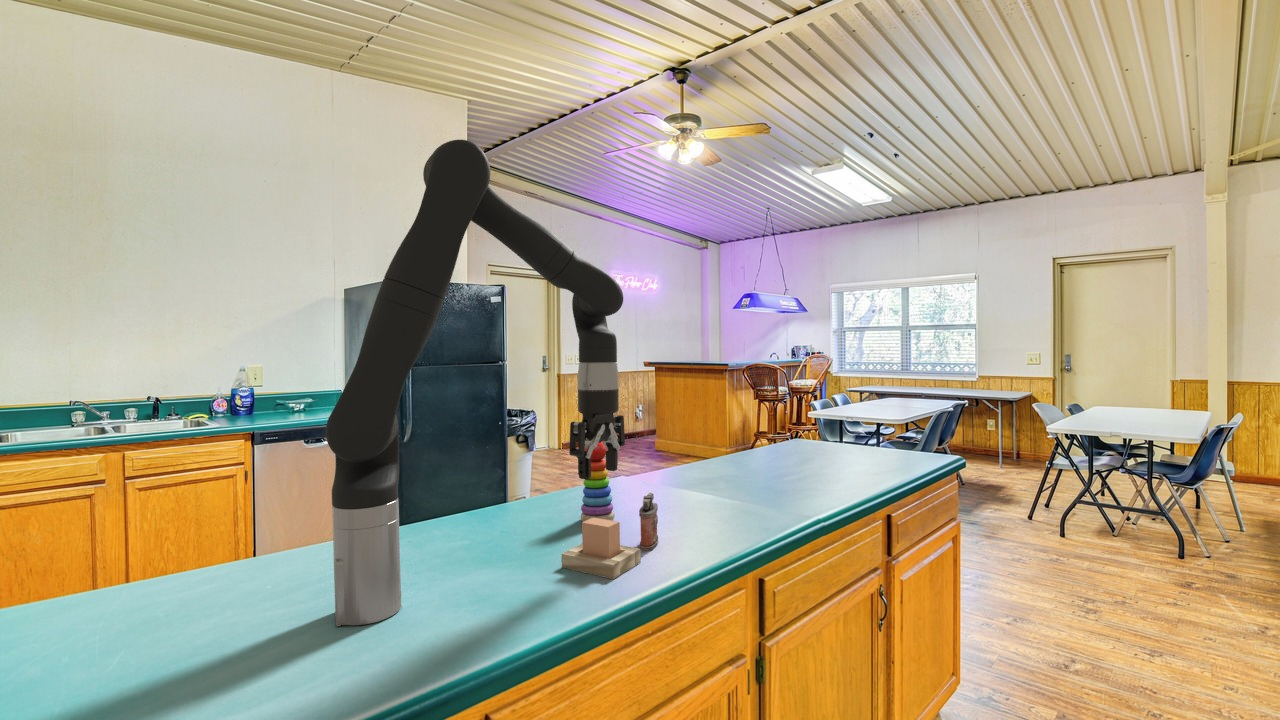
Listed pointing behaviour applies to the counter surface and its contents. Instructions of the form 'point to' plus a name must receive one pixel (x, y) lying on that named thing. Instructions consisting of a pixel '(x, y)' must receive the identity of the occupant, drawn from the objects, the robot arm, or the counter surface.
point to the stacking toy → (597, 488)
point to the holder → (601, 561)
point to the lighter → (648, 523)
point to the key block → (601, 538)
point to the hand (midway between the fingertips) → (598, 474)
